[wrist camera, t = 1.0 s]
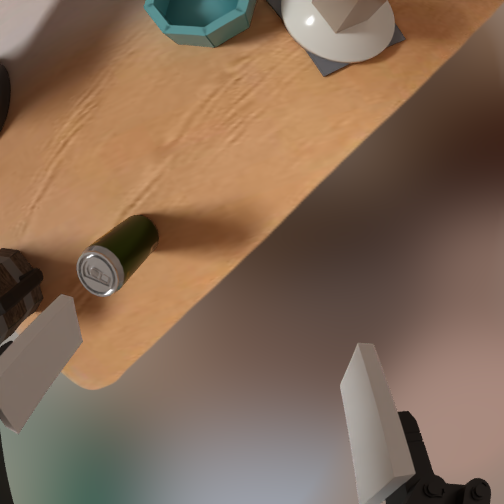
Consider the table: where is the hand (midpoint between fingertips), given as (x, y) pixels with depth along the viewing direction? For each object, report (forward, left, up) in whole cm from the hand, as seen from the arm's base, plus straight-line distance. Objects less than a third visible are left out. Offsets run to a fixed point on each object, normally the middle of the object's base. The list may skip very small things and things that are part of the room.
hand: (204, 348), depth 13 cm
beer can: (-4, -14, -25) cm, 29 cm away
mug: (-11, -40, -25) cm, 48 cm away
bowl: (-23, +9, -25) cm, 35 cm away
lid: (-14, +21, -24) cm, 35 cm away
